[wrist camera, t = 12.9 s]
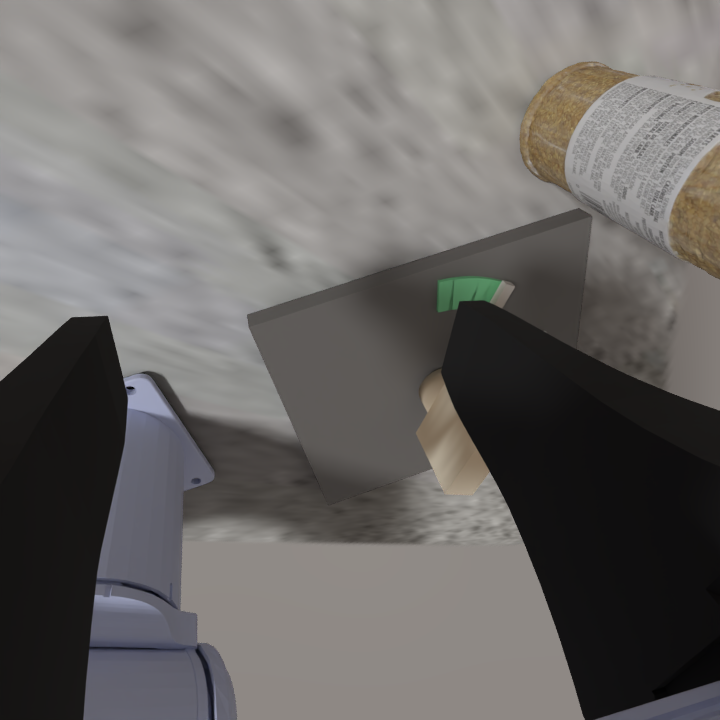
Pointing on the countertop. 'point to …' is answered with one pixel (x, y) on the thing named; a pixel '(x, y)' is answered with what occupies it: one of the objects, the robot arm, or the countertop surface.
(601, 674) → the robot arm
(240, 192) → the countertop surface
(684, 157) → the sprinkles bottle
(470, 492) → the peg
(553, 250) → the dial board
